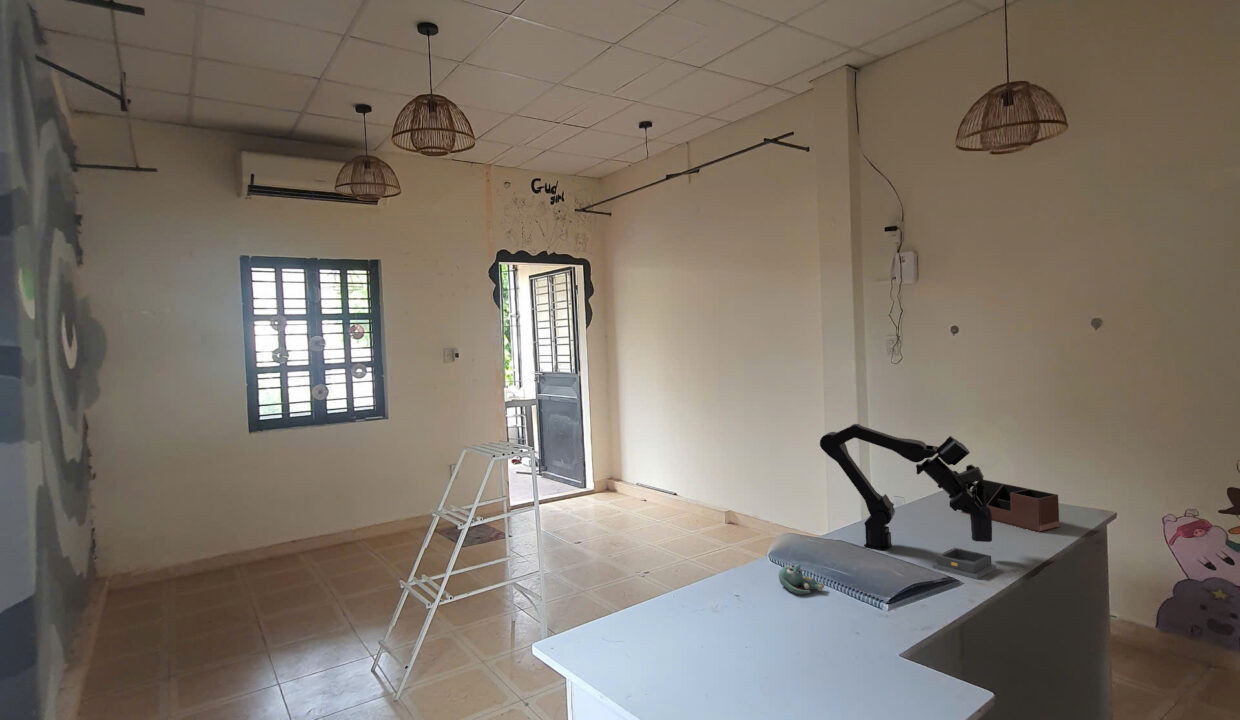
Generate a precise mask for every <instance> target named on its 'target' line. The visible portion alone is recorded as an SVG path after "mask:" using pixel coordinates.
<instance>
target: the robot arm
mask: <svg viewBox="0 0 1240 720" xmlns="http://www.w3.org/2000/svg"><path fill="white" fill-rule="evenodd" d="M853 439H858V440H861V441H865V442H867V443H870V444H873V445H876V446H879V447H882V448H885V449H888V450H890V451H893V452H894V453H896V454H898V455H899V456H900V457H902V458H904V459H906V460H908V461H910V462H912V463H917V464H915V468H916V475H918V476H919V475H920V474H921V473H923V472H924V473H925V474H926V475H927V476H928V477H929V478H931V480H933V482H935V483H936V484H937V488H938V489H942V490H943V491H944V492H945V493H946V494H947V495H948V498H949V499H950V500H949V508H951V509H952V510H953V511H954V512H956V511H957V510H958V511H960V512H961V511H964V512H966V513H969V514H971V515H974V516H976V517H979V518H981V519H983V520H986V519H987V518H988V517H987V516H986V514H985V513H984V512H983V511H982V509H981V508H980V507H979V506H983V504H982V503H981V501H980V500H979V498H978V497H977V488H974V489H973V490H971V489H972V487H973V486H976V483H977V482H978V481H981V480H984V477H985V476H984V475H983V473H982V470H981V468H980V467H979V466H975V465H974V464H968V465H966V467H965V470H964V471H962V472H960V473H959V472H958V471H957V470H952V468H950V467H949V466H951V465H952V466H956V465H957V464H958V463H960V462H961V461H962V460H963V459H964V458H966V457H967V456H968V455H969V454H970V450H969V449H968V448H967V447H966V445H964V444H963V443H962V442H961V441H959V440H957V439H955V438H954V437H953V436H951V435H950V436H948V437H947V438H946V440H945V441H944V442H943V443H942V444H940V445H939V446H936V445H935V446H934V445H930V444H926V443H925V442H924V441H923V440H918V439H913V438H901V437H897V436H893V435H890V434H887V433H884V432H882V431H878V430H875V429H872V428H869V427H866V426H863V425H861V424H860V423H853V424H852V425H850V426H848V427H846V428H844V429H841V430H839V431H837V432H836V431H830V432H828V433H826V434H824V435H823V436H821V438H820V439H819V440H820V441H819V446H820V448H821V450H823V452H824V453H825V454H826V455H827V456H828V457H829V458H831V459H832V460H833V461H835V462H836V463H837V464H838V465H839V467H840V468H841V469H842V471H843V472H844V473H845V475H846V476H847V478H848V479H849V481H850V482H851V483H852V484H853V487H854V488H855V489H856V491H858V493H859V494H860V495H861V497H862V498H863V500H864V501H865V506H866V508H867V510H868V512H869V516H868V517H867V519H866V520H865V521H864V527H865V529H864V530H865V544H863V547H864V546H865V548H870V549H876V550H880V551H885V550H887V549H889V548H890V547H892V546H893V543H892V532H891V531H890V526H887V525H889V524H890V522H891V521H892V520H893V518H894V516H895V513H896V511H895V507H894V506H895V503H894V502H892V501H891V500H890V498H889V497H888V495H887V494H886V493H885V494H884V495H881V494H879V492H877V490H876V489H875V488H874V487H873V485H872V484H871V483H870V481H869V480H868V479H867V477H866V475H865V474H864V473H863V471H862V470H861V469H860V467H859V466H858V465H857V463H856V462H855V461H854V459H853V457H851V456H850V453H849V450H848V448H847V444H846V442H847V443H848V442H849V441H850V440H853ZM930 458H932V459H930ZM920 462H922V463H920ZM975 501H977V502H978V504H977V503H976V502H975ZM969 514H968V515H969Z"/></svg>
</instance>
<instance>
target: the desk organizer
mask: <svg viewBox="0 0 1240 720" xmlns="http://www.w3.org/2000/svg"><path fill="white" fill-rule="evenodd" d="M975 483H976V486H973V487H971V488H970V489H971V490H973V489H974V488H977V497H978V498H979V500H980V501H981V503H982V504H983V499H982V491H983V489H985V490H986V504H987V507H989V508H990V510H991V513H992V522H996V523H999V522H1000V523H999V524H1003V523H1004V525H1007V526H1011V525H1012V527H1014V526H1016V527H1015V528H1018V527H1019V529H1022V528H1023V529H1022V530H1026V529H1028V530H1027V531H1029V530H1031V531H1030V532H1033V531H1035V532H1034V533H1037V532H1039V533H1038V534H1044V533H1047V531H1048V532H1051V530H1052V531H1055V529H1056V530H1059V528H1060V529H1062V527H1061V526H1060V510H1059V508H1060V507H1059V494H1056V493H1052V492H1048V491H1047V492H1046V491H1041V490H1038V489H1037V490H1036V489H1031V488H1026V487H1023V486H1017V485H1011V484H1007V483H1003V482H998V481H992V480H987V479H983V480H981V481H976V482H975ZM960 513H963V514H966V515H969V516H970V514H969V513H966V512H964V511H961V510H960ZM1043 532H1044V533H1043Z"/></svg>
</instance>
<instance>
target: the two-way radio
mask: <svg viewBox="0 0 1240 720" xmlns="http://www.w3.org/2000/svg"><path fill="white" fill-rule="evenodd" d="M982 499H983V506H979V507H980V508H981V509H982V511H983V512H984V513H985V514H986V516H987V517H988V518H987V519H986V520H983V519H981V518H979V517H976V516H974V515H971V514H970V515H969V517H970V518H969V520H970V526H971V527H970V528H971V539H972V541H975V542H979V543H980V542H984V543H985V542H986V543H990V542H992V541H993V521H992V513H991V510H990V508H989V507H987V504H986V490H985V489H983V491H982ZM975 502H976V503H977V504H978V502H977V501H975Z"/></svg>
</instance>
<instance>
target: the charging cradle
mask: <svg viewBox="0 0 1240 720" xmlns="http://www.w3.org/2000/svg"><path fill="white" fill-rule="evenodd" d="M933 567H934V569H936V568H937V570H941V571H945V572H949V573H952V574H956V575H959V576H963V577H966V578H970V579H975V580H979V579H981V578H982V577H984V576H986V575H988V574H989V573H992V572H993V571H995V570H997V564H993V563H992V556H991V555H988V554H984V553H982V552H981V553H980V552H976V551H973V550H972V551H971V550H968V549H962V548H959V547H953V548H951V549H948V550H946V551H944V552H942V553H940V554H937V555H936V562H934V563H932V568H933Z"/></svg>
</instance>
